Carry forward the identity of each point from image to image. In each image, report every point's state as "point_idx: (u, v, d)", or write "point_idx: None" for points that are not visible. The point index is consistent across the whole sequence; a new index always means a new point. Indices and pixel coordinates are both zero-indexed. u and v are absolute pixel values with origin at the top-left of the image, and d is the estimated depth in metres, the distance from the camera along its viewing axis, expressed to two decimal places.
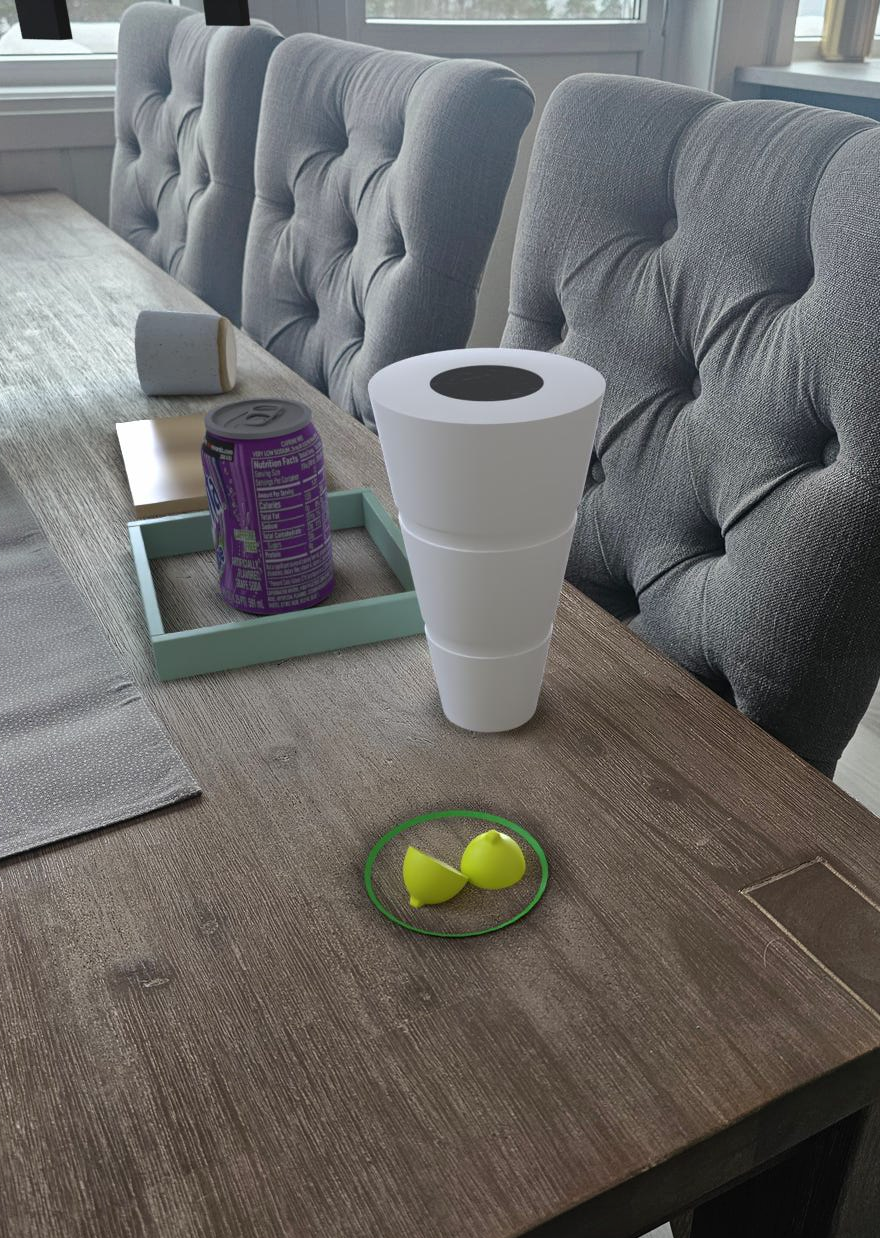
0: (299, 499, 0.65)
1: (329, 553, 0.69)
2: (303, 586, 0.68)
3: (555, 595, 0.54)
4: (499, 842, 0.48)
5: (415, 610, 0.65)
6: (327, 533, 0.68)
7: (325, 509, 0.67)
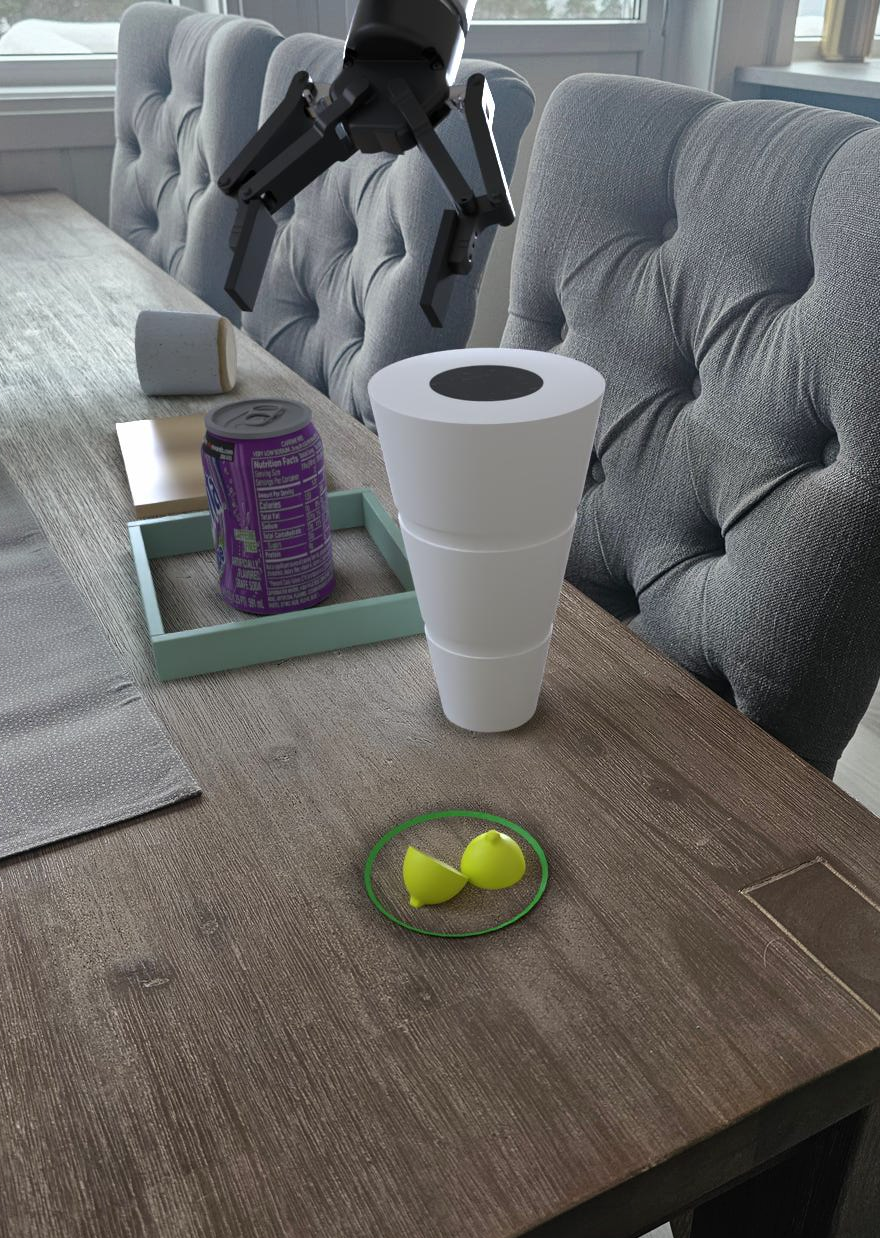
0: (299, 499, 0.65)
1: (329, 553, 0.69)
2: (303, 586, 0.68)
3: (555, 595, 0.54)
4: (499, 842, 0.48)
5: (415, 610, 0.65)
6: (327, 533, 0.68)
7: (325, 509, 0.67)
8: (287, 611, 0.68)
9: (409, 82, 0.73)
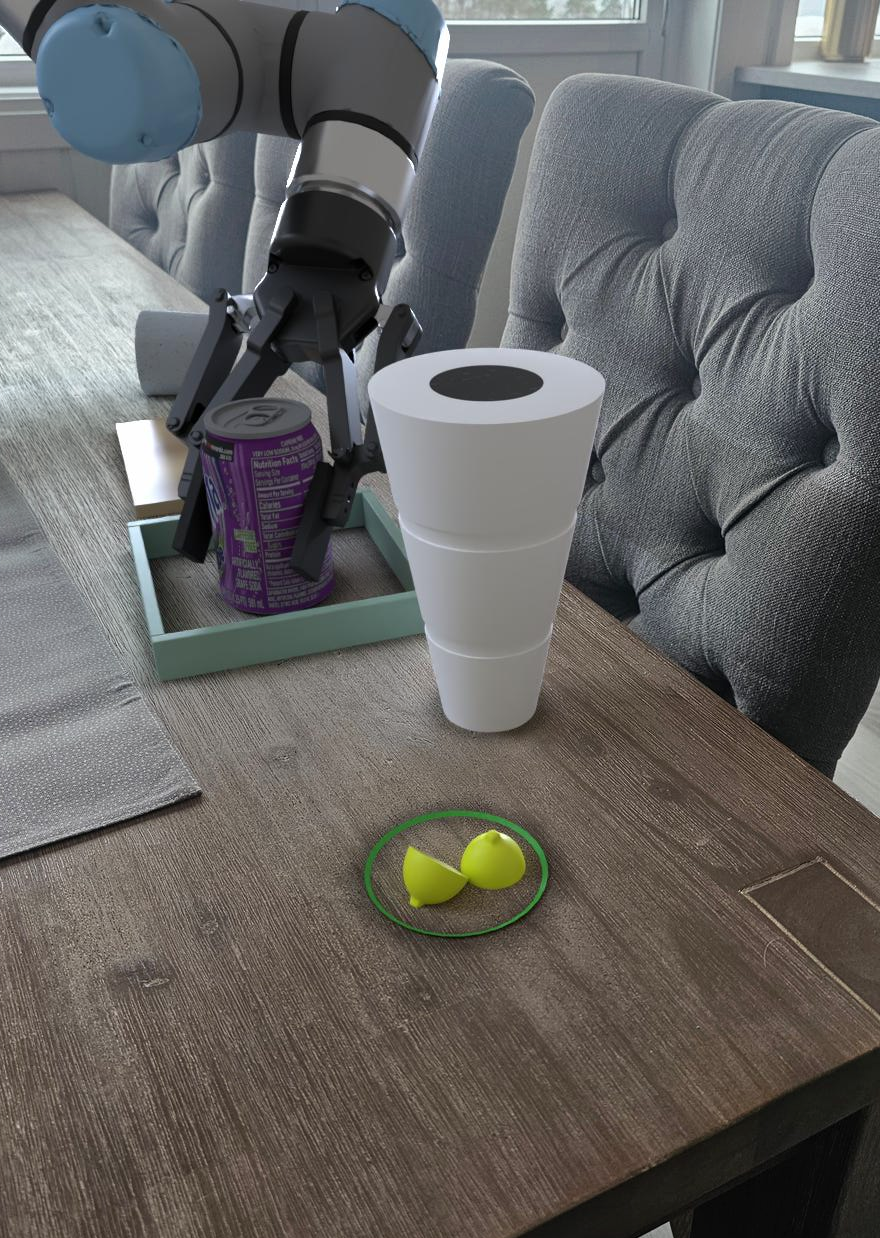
0: (298, 499, 0.65)
1: (329, 553, 0.69)
2: (303, 586, 0.68)
3: (555, 595, 0.54)
4: (499, 842, 0.48)
5: (415, 610, 0.65)
6: None
7: None
8: (287, 611, 0.68)
9: (336, 293, 0.68)
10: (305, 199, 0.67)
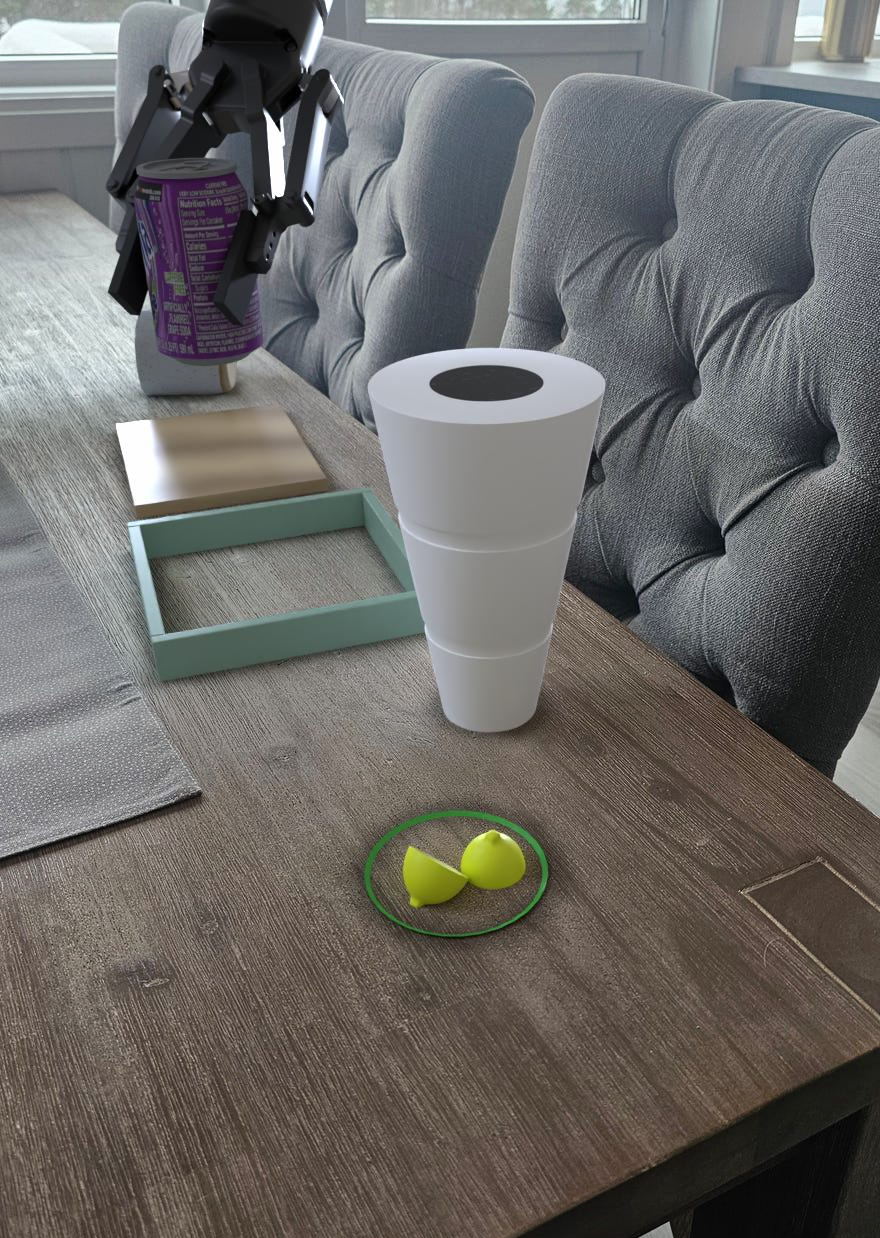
0: (223, 243, 0.70)
1: (256, 307, 0.74)
2: (230, 334, 0.73)
3: (555, 595, 0.54)
4: (499, 842, 0.48)
5: (415, 610, 0.65)
6: None
7: None
8: (216, 358, 0.73)
9: (263, 63, 0.73)
10: None
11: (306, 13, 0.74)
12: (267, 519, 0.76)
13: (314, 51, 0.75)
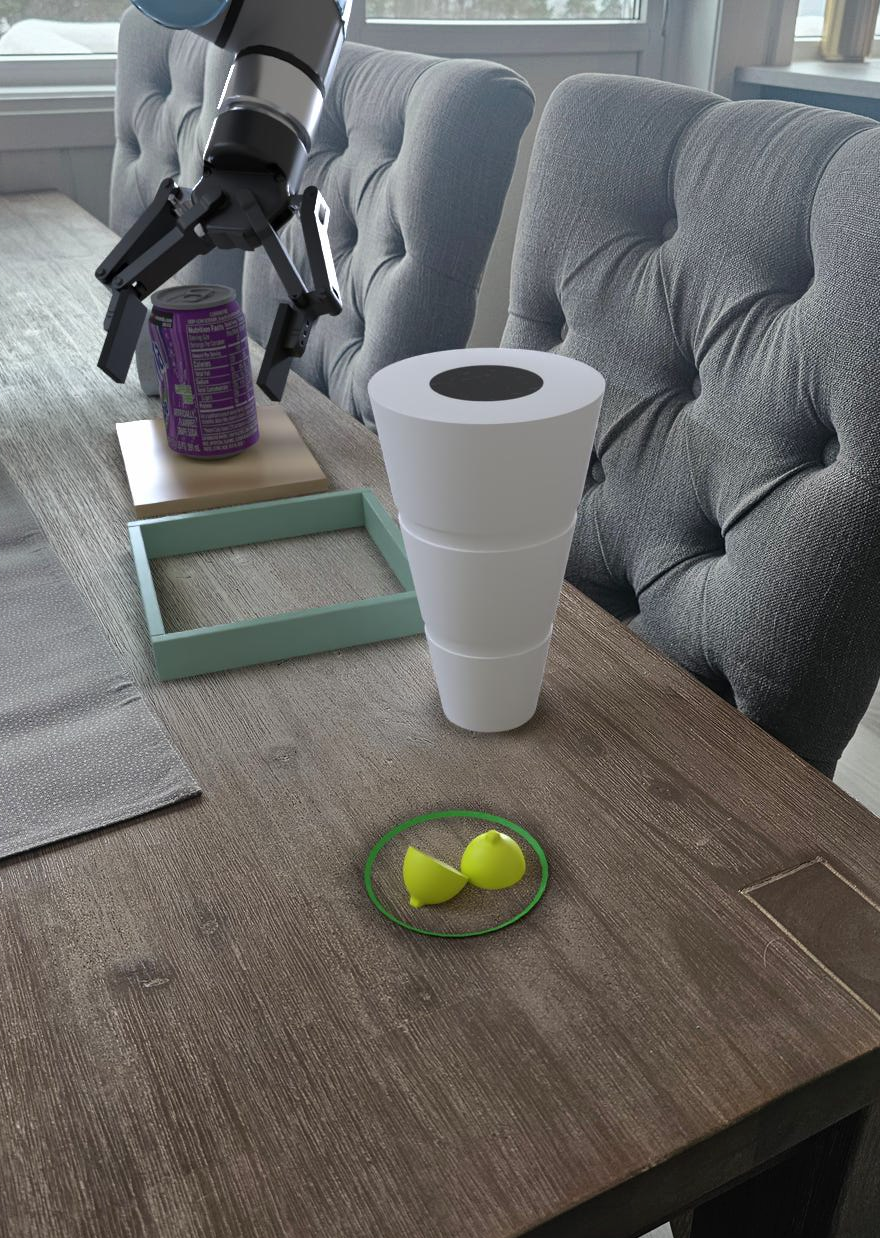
0: (225, 360, 0.83)
1: (253, 410, 0.87)
2: (231, 434, 0.85)
3: (555, 595, 0.54)
4: (499, 842, 0.48)
5: (415, 610, 0.65)
6: (250, 393, 0.86)
7: (248, 372, 0.85)
8: (218, 454, 0.86)
9: (256, 191, 0.85)
10: (231, 116, 0.84)
11: (293, 148, 0.86)
12: (267, 519, 0.76)
13: (300, 178, 0.87)
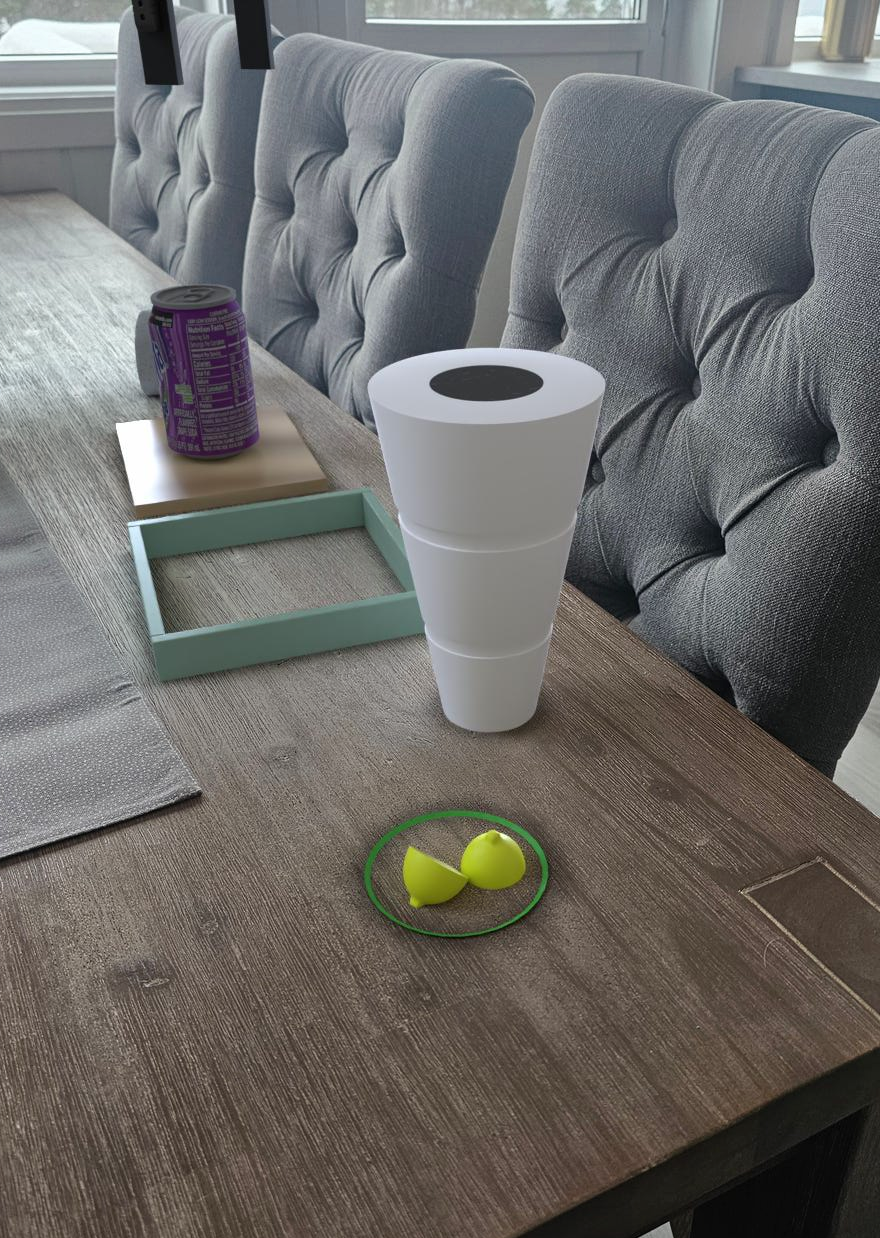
0: (225, 360, 0.83)
1: (253, 410, 0.87)
2: (231, 434, 0.85)
3: (555, 595, 0.54)
4: (499, 842, 0.48)
5: (415, 610, 0.65)
6: (250, 393, 0.86)
7: (248, 372, 0.85)
8: (218, 454, 0.86)
9: None
10: None
11: None
12: (267, 519, 0.76)
13: None
